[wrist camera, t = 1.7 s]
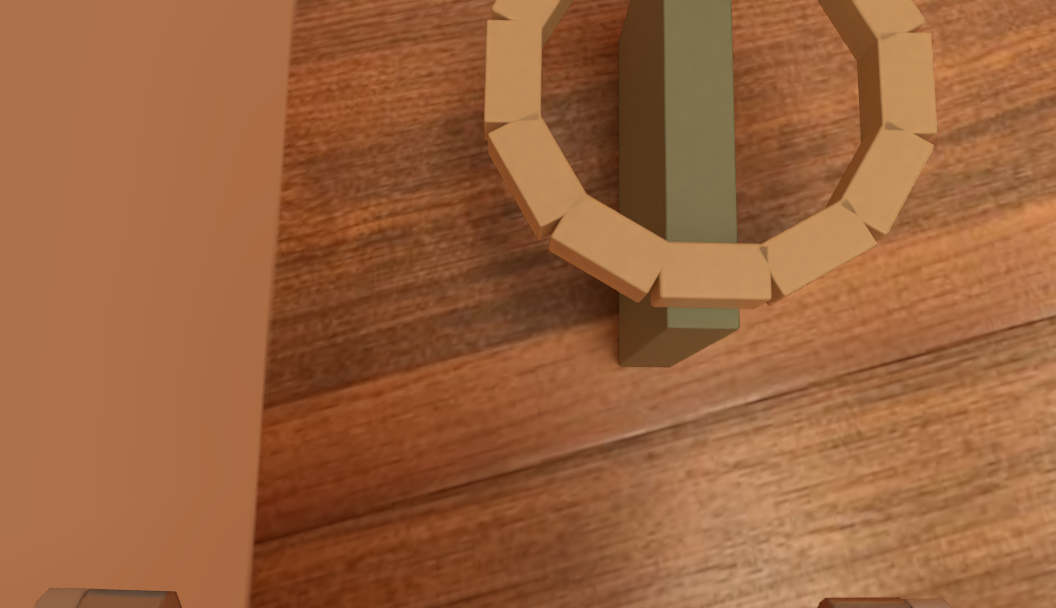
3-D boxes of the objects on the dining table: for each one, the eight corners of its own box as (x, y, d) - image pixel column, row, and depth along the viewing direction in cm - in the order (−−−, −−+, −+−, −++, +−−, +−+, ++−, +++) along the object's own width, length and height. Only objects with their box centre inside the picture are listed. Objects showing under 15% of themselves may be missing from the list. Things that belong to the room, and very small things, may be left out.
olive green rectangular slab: (618, 366, 34) (666, 328, 24) (618, 41, 36) (662, -114, 27) (671, 367, 34) (740, 329, 24) (667, 43, 37) (729, -112, 27)
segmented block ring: (480, 304, 24) (479, 293, 23) (490, -103, 26) (490, -136, 25) (923, 313, 25) (949, 304, 23) (898, -89, 27) (921, -121, 25)
